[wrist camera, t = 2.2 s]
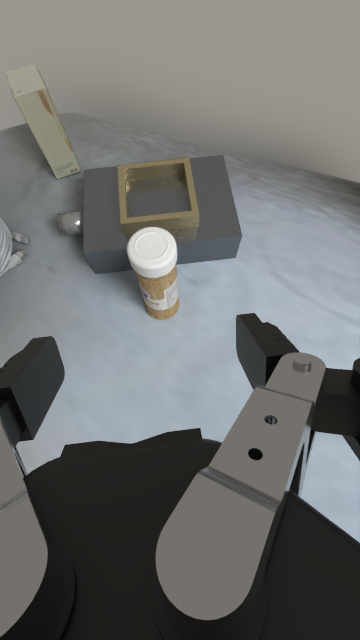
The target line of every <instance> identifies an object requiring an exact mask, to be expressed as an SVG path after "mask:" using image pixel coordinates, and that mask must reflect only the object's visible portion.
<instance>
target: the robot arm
mask: <svg viewBox="0 0 360 640" xmlns="http://www.w3.org/2000/svg"><path fill="white" fill-rule="evenodd" d="M236 349H237V355H238V359H239V361H240V363H241V365H242V367H243V369H244V371H245V373H246V376H247V378H248V380H249V382H250V384H251V386H252V388H253V390H254V391H253V393H252V394H251V396H250V398H249V399H248V401H247V403H246V404H245V406H244V408H243V409H242V411H241V413H240V414H239V416H238V418H237V419H236V421H235V423H234V424H233V426H232V428H231V429H230V431H229V433H228V434H227V436H226V438H225V439H224V441H223V443H221V442H218V441H214V440H209V439H202V435H201V430H200V428H196V429H188V430H180V431H172V432H166V433H163V434H160V435H157V436H154V437H151V438H148V439H145V440H142V441H140V442H137V443H133V444H127V443H116V442H106V441H93V442H85V443H77V444H69V445H65V446H64V449H63V451H62V454H61V457H59V458H56V459H54V460H52V461H49V462H47V463H45V464H43V465H42V466H40V467H38V468H37V469H35V470H33V471H32V472H30V473H29V474H27V471H26V469H25V467H24V464H23V462H22V459H21V457H20V455H19V452H18V450H17V448H16V445H17V443H18V442H19V441H27V440H33V439H34V437H35V435H36V433H37V431H38V429H39V427H40V426H41V424H42V422H43V420H44V418H45V416H46V414H47V412H48V410H49V408H50V406H51V404H52V402H53V400H54V398H55V396H56V394H57V392H58V390H59V388H60V386H61V384H62V382H63V380H64V375H65V372H64V366H63V363H62V360H61V356H60V353H59V350H58V347H57V344H56V341H55V339H54V338H53V337H52V336H48V337H40V338H33V339H32V340H31V341H30V342H29V343H28V344H27V345H26V347H25V348H24V349H23V350H22V351H20V352H19V353H17V354H16V355H14V356H13V357H11V358H10V359H9V360H8V361H7V362H6V363H5V365H4V367H2V368H1V369H0V640H360V543H359V542H358V541H357V540H355V539H354V538H353V537H351V536H350V535H349V534H347V533H346V532H345V531H343V530H342V529H341V528H339V527H338V526H337V525H336V524H334V523H333V522H332V521H330V520H329V519H328V518H326V517H325V516H324V515H322V514H321V513H320V512H318V511H317V510H316V509H315V508H313V507H312V506H311V505H309V504H308V503H307V502H305V501H304V500H303V499H301V493H302V488H303V482H304V478H305V473H306V469H307V466H308V462H309V458H310V454H311V450H312V447H313V443H314V439H315V435H316V432H324V433H331V434H339V435H343V437H344V438H345V440H346V441H347V443H348V444H349V446H350V447H351V449H352V450H353V452H354V453H355V455H356V456H357V458H358V459H359V460H360V358H359V359H357V360H355V362H354V364H353V369H352V370H342V369H330V368H326V366H325V363H324V362H323V361H322V360H321V359H319V358H318V357H316V356H314V355H311V354H307V353H300V352H299V351H298V350H297V349H296V347H295V346H294V345H293V344H292V343H291V342H290V341H289V340H288V339H287V337H286V336H285V335H284V334H282V332H281V331H280V330H279V329H278V327H276V326H274V325H272V324H270V323H268V322H266V323H262V322H261V320H260V319H259V318H258V317H257V316H256V314H255V313H250V314H241V315H237V317H236Z"/></svg>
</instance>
